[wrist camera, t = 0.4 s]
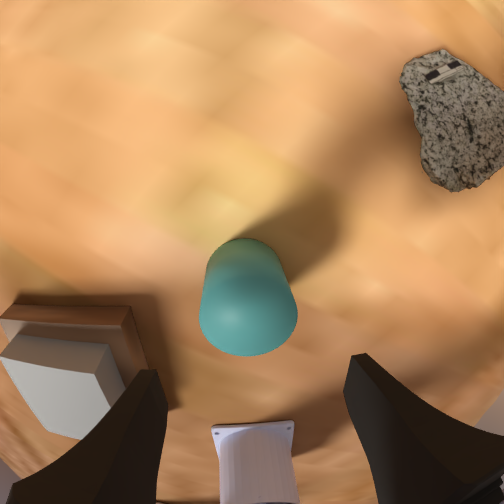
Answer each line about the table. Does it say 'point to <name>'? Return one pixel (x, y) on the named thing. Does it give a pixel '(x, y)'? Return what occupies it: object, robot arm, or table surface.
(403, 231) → the table surface
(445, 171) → the rock sample
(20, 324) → the walnut base slab
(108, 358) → the gray top slab
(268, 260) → the teal cylinder
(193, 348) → the table surface
